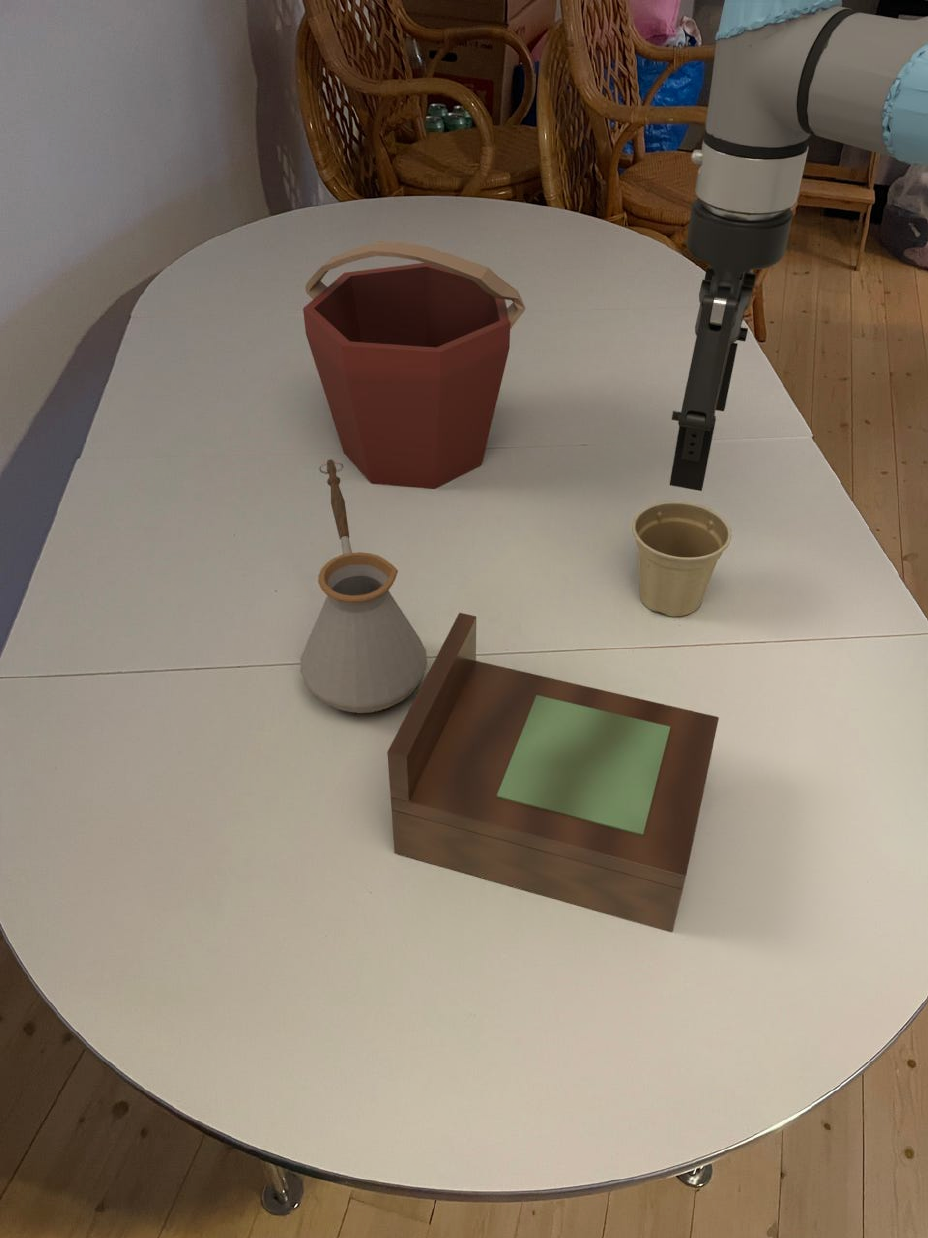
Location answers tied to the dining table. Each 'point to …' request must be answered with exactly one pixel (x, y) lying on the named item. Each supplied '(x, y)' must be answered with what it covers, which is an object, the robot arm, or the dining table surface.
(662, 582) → the flower pot
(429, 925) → the dining table surface
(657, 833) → the plant shelf
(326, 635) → the coffee pot
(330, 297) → the bucket
